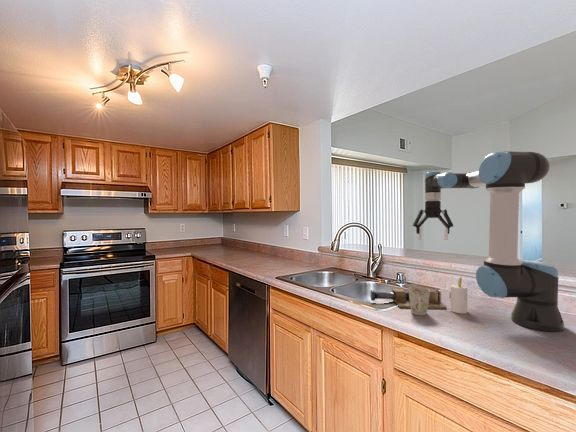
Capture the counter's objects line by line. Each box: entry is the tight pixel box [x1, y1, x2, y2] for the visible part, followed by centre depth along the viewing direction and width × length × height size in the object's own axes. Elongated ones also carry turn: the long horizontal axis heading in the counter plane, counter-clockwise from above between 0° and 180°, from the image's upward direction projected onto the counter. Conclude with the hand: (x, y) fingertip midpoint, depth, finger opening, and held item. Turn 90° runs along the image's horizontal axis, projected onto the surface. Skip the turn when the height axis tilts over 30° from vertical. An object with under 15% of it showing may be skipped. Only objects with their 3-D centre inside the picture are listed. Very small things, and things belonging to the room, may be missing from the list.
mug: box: [407, 286, 430, 316], centre depth 119 cm, size 8×13×10 cm, turn 161°
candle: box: [449, 276, 468, 315], centre depth 123 cm, size 6×6×15 cm
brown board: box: [391, 288, 447, 310], centre depth 136 cm, size 20×21×5 cm
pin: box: [369, 289, 409, 301], centre depth 137 cm, size 5×21×5 cm, turn 86°
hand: (432, 239), depth 156 cm, fingers open, 13 cm apart
